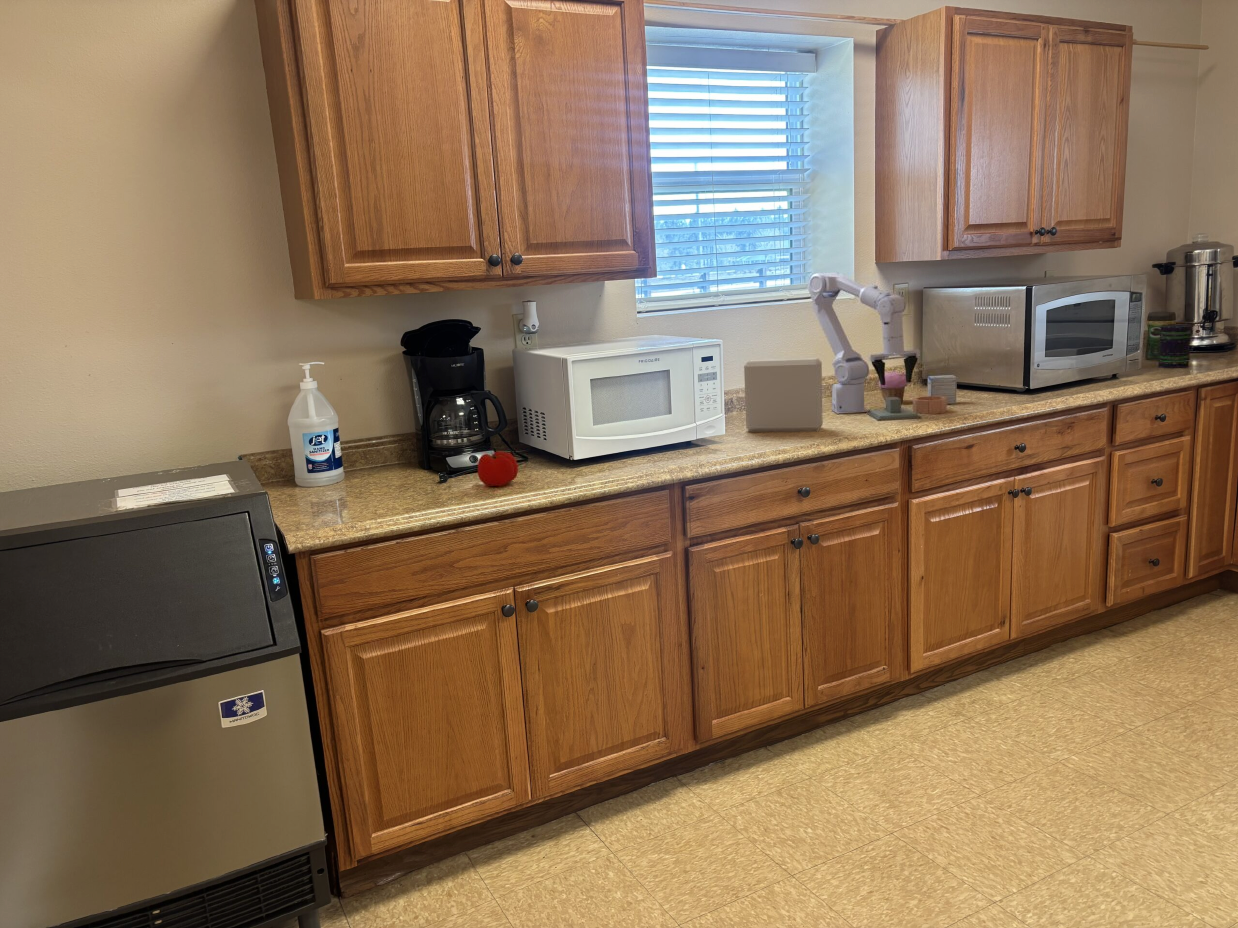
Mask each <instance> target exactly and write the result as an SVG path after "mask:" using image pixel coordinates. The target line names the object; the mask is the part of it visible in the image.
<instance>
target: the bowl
mask: <svg viewBox="0 0 1238 928" xmlns="http://www.w3.org/2000/svg"><path fill="white" fill-rule="evenodd" d="M912 411H914V412H916V413H921V414H920V415H936V414H935V413H941V414H944V413H947V411H948V404H947V398H945V397H942V396H928V395H926V396H922V395H921V396H916V397H913V398H912Z"/></svg>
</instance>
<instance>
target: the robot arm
mask: <svg viewBox="0 0 1238 928" xmlns="http://www.w3.org/2000/svg"><path fill="white" fill-rule="evenodd" d="M807 290H808V292H809V294H810V297H811V302H812V309H813V311H814V313H815V316H816V317H817V320H818V322H819V324H820V327H821V328H822V331H823V333H824V335H825V337H826V338H827V342H828V344H829V346H830V348H831V350H832V352H833V354H834V357H835V358H834V359H833V361H832V366H833V367H832V368H833V369H834V371H833V372H834V377H835V379H836V381H838V383H834V384H832V388H831V395H832V397H831V401H832V404H831V407H832V408H831V410H832V411H833V412H835V413H836V414H851V413H852V414H853V413H867V412H869V410H868V409H866V408H865V382H866V379H867V378H868V376H869V373H870V366H869V364H868V363H867V361H866V360H864V358H863V357H862V355H861V354H860V353H859V352H857V351H855V350H854V349H853V348H852V346H851V344H850V342H849V339H848V337H847V335H846V333H845V330H844V329H843V325H842V324H841V322H840V320H839V317H838V315H837V314H836V311H835V310H834V307H833V304H834V302H835V301H836V300H837V297H838V296H839V295H840V293H841V291H842V292H845V293H848V294H850V295H852V296H855V297H857V298H859V300H860V303H861V304H862V305H865V306H867V307H869V308H871V309H873V310H875V311H876V312H877V313H878V315H879V316H880V321H881V327H882V330H881V331H882V343H883V353H882V352H881V353H875V354H869V355H868V362H869V363H870V362H871V365H872V367H873V368H874V370H875V373H876V374H877V377H878V381H879V380H880V384H881V385H885V374H886V372H885V370H886V369H885V368H886V362H884V361H886V360H889V361H890V360H897V359H903V364H904V370H905V377H906V382H908V384H910V383H911V382H912V378H913V373H914V369H915V366H916V364H917V363H918V358H919V357H921V354H920V349H908V350H905V345H904V344H905V343H904V325H903V313H904V312H905V310H906V305H907V303H906V300H905V298H904V297H903V296H901V295H900V294H893V295H891V292H890V291H884V290H881V289H879V286H878V285H876V284H872V285H866V286H864V285H862V284H860V283H858V282H856V281H855V280H852V279H851V278H849V277H847V276H846V275H845V274H843V273H839V272H837V271H834V272H827V273H826V272H825V273H815V274H813V275H811V277H810V278H809V282H808V285H807Z"/></svg>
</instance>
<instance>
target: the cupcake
mask: <svg viewBox="0 0 1238 928" xmlns="http://www.w3.org/2000/svg"><path fill="white" fill-rule="evenodd" d="M908 384H909V383H908V382H906V375H905V374H903V373H902V372H897V371H892V372H885V385H881V384H880V380H879V379H878V387H879V388H880V391H881V396H882V398H883V400H884V401H885V403H886V397H897V398H899V399H901V403H902V402H903V401H904V397H905V388H906V387H907V386H908Z"/></svg>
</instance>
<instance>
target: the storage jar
mask: <svg viewBox="0 0 1238 928" xmlns="http://www.w3.org/2000/svg"><path fill="white" fill-rule="evenodd" d="M1160 328H1161V330H1160V332H1162V333H1160V336H1161V337H1160V352H1159V357H1158V360H1157V361H1158V365H1157V368H1160V369H1187V368H1189V363H1190V360H1191V359H1190V358H1191V356H1190V355H1191V352H1190V344H1191V343H1190V342H1191V340H1192V338H1191V337H1192V325H1191V324H1175V325H1162V326H1160Z"/></svg>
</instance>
